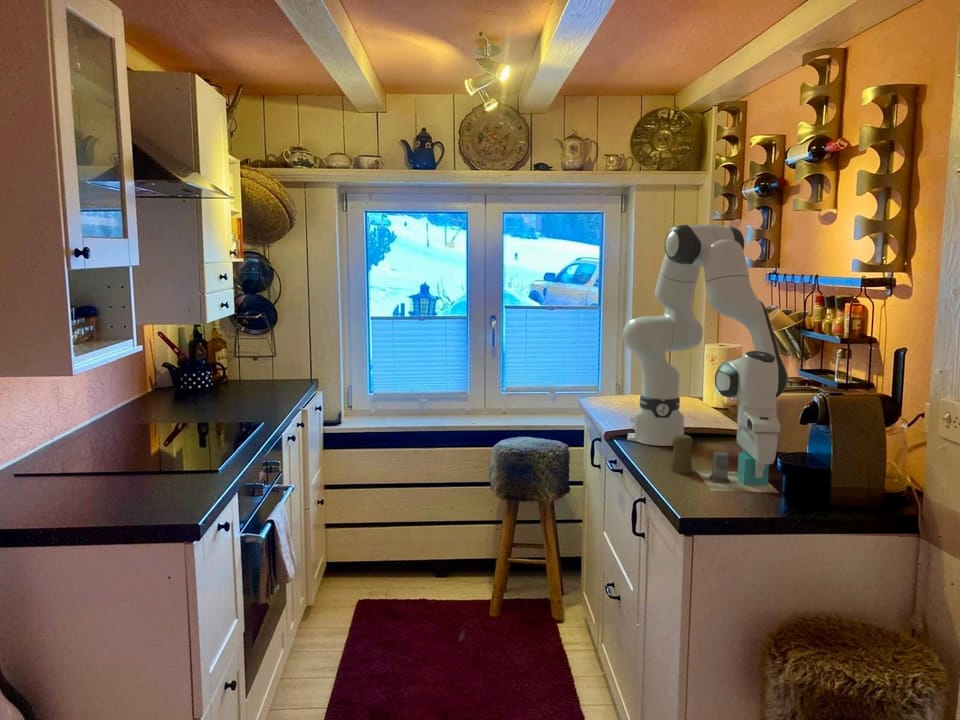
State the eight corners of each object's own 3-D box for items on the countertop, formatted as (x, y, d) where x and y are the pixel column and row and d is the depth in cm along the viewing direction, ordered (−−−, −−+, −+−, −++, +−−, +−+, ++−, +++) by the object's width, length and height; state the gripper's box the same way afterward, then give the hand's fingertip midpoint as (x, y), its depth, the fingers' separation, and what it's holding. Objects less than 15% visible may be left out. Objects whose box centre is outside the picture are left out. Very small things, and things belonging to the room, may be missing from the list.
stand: (696, 476, 192) (697, 444, 190) (758, 478, 191) (760, 446, 189) (710, 496, 176) (712, 462, 175) (778, 498, 175) (781, 464, 174)
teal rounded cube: (737, 477, 186) (738, 452, 185) (760, 478, 185) (762, 453, 184) (743, 484, 180) (745, 458, 179) (767, 485, 180) (769, 459, 179)
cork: (674, 471, 196) (676, 431, 194) (696, 475, 192) (698, 435, 191) (665, 476, 191) (667, 435, 190) (686, 481, 188) (689, 439, 186)
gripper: (732, 408, 191) (729, 459, 193) (755, 426, 171) (751, 483, 173) (756, 409, 190) (753, 460, 192) (783, 427, 170) (779, 484, 172)
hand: (752, 471), depth 182 cm, fingers open, 7 cm apart
